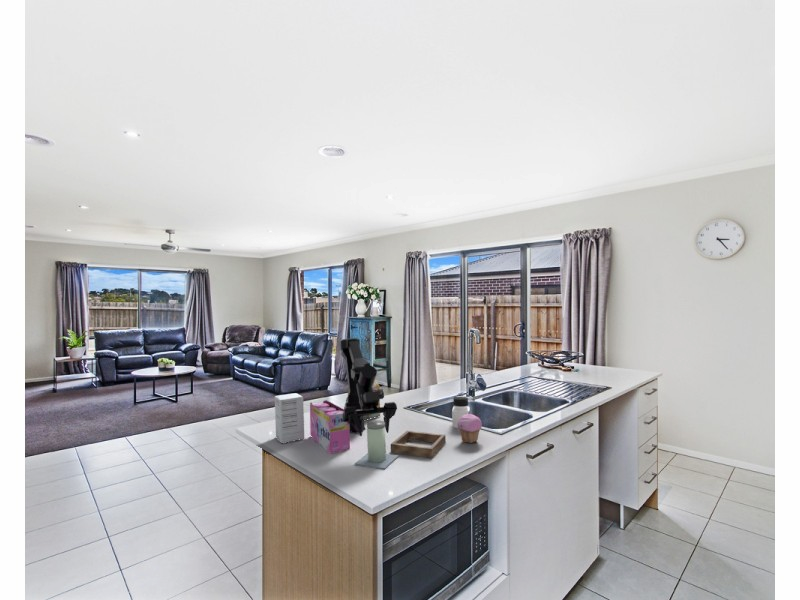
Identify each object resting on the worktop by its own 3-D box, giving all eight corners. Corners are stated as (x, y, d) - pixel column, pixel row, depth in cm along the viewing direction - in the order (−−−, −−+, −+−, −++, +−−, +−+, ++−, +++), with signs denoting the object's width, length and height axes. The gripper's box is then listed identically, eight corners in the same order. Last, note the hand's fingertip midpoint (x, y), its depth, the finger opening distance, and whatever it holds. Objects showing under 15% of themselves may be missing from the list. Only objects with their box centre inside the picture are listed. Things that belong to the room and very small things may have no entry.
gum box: (308, 435, 161) (307, 402, 161) (327, 432, 165) (326, 399, 165) (330, 454, 141) (329, 415, 141) (351, 449, 145) (350, 411, 145)
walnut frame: (390, 452, 140) (390, 443, 140) (407, 438, 154) (407, 430, 154) (432, 457, 134) (432, 449, 134) (445, 442, 148) (445, 434, 148)
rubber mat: (354, 464, 130) (354, 463, 130) (369, 453, 140) (369, 451, 140) (384, 469, 126) (384, 467, 126) (398, 456, 136) (398, 455, 136)
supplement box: (305, 439, 156) (303, 396, 156) (281, 444, 152) (280, 400, 152) (298, 433, 165) (296, 392, 165) (275, 437, 160) (274, 395, 160)
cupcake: (468, 436, 155) (467, 410, 155) (487, 441, 149) (486, 414, 149) (453, 441, 149) (452, 415, 149) (472, 447, 143) (471, 419, 143)
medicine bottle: (469, 428, 164) (468, 399, 164) (452, 427, 166) (451, 398, 166) (470, 423, 171) (469, 395, 171) (453, 422, 173) (452, 395, 173)
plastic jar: (366, 457, 135) (365, 421, 135) (383, 454, 137) (382, 419, 137) (370, 463, 129) (369, 426, 129) (388, 461, 131) (387, 424, 131)
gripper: (343, 384, 137) (350, 425, 127) (394, 379, 143) (405, 418, 133) (339, 401, 145) (346, 442, 134) (389, 396, 150) (399, 434, 140)
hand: (374, 434), depth 135 cm, fingers open, 9 cm apart
